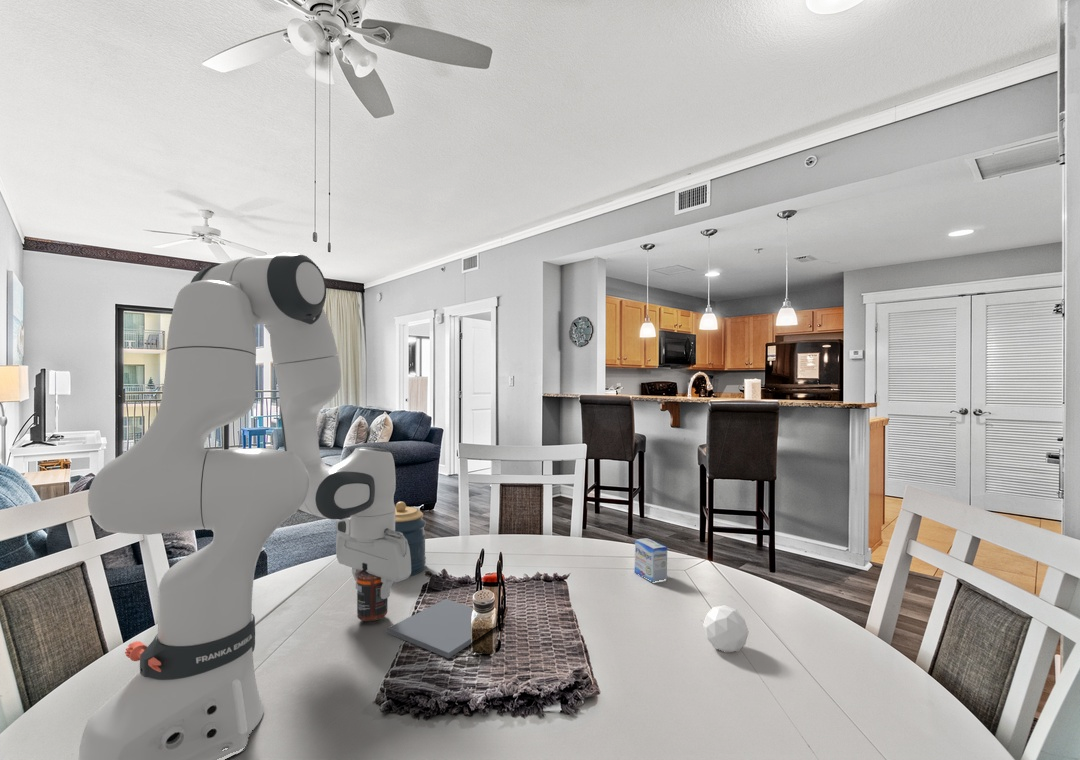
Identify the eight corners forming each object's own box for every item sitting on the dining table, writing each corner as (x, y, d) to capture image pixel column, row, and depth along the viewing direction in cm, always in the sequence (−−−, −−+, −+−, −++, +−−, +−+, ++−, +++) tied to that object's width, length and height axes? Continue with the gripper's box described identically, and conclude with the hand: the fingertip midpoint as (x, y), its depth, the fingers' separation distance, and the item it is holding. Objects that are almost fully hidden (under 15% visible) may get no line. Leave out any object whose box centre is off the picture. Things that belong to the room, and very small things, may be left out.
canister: (374, 563, 135) (374, 497, 135) (423, 558, 139) (424, 494, 139) (373, 581, 123) (374, 509, 123) (427, 575, 126) (428, 505, 126)
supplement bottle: (392, 610, 105) (392, 556, 106) (379, 623, 99) (380, 566, 100) (365, 608, 106) (365, 554, 106) (351, 621, 100) (351, 564, 100)
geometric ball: (730, 659, 94) (753, 622, 95) (735, 665, 87) (759, 625, 88) (694, 631, 97) (716, 595, 98) (695, 635, 90) (719, 596, 91)
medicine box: (633, 573, 129) (634, 539, 129) (648, 570, 131) (648, 537, 131) (653, 584, 122) (653, 548, 122) (667, 581, 124) (667, 546, 124)
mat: (448, 658, 89) (448, 652, 89) (387, 633, 97) (387, 628, 97) (503, 622, 102) (503, 617, 102) (445, 603, 111) (446, 598, 111)
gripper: (419, 530, 100) (418, 600, 99) (356, 515, 111) (355, 578, 111) (393, 537, 95) (392, 611, 94) (330, 521, 106) (329, 587, 106)
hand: (372, 593), depth 103 cm, fingers closed on supplement bottle, 6 cm apart
